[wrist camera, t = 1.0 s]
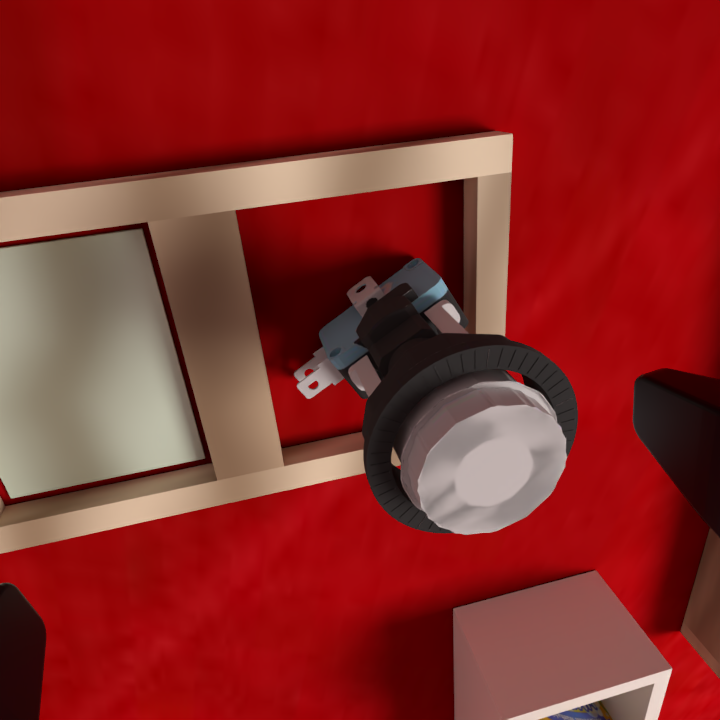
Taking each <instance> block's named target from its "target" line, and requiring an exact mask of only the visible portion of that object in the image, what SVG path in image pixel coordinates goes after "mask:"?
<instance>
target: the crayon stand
mask: <svg viewBox="0 0 720 720" xmlns="http://www.w3.org/2000/svg"><path fill="white" fill-rule="evenodd" d="M453 641H454V720H538V719H542V718H545V717H548V716H551V715H555V714H558V713H561V712H564V711H567V710H571V709H574V708H577V707H580V706H583V705H587V704H590V703H593V702H596V701H599V700H601V702H602V703H603V705H604V707H605V708H606V710H607V711H608V713H609V715H610V716H611V718H612V719H613V720H658V716H659V713H660V709H661V706H662V702H663V699H664V695H665V692H666V689H667V685H668V682H669V678H670V675H671V671H672V667H671V666H670V665H669V663H668V662H667V661H666V660H665V658H664V657H663V656H662V654H661V653H660V652H659V651H658V649H657V648H656V647H655V645H654V644H653V643H652V642H651V640H650V639H649V638H648V636H647V635H646V634H645V633H644V631H643V630H642V629H641V627H640V626H639V625H638V624H637V622H636V621H635V620H634V618H633V617H632V616H631V615H630V613H629V612H628V611H627V609H626V608H625V607H624V606H623V604H622V603H621V602H620V600H619V599H618V598H617V596H616V595H615V594H614V593H613V591H612V590H611V589H610V587H609V586H608V585H607V584H606V582H605V581H604V580H603V578H602V577H601V576H600V575H599V573H598V572H597V571H596V570H595V571H591V572H587V573H584V574H580V575H576V576H572V577H569V578H565V579H561V580H558V581H554V582H550V583H546V584H543V585H539V586H535V587H532V588H528V589H524V590H520V591H517V592H513V593H509V594H505V595H502V596H498V597H494V598H491V599H487V600H483V601H479V602H476V603H472V604H468V605H465V606H461V607H457V608H453Z"/></svg>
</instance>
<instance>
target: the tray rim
mask: <svg viewBox="0 0 720 720" xmlns="http://www.w3.org/2000/svg"><path fill="white" fill-rule="evenodd" d="M680 632H681V633H682V635H683V636H684V637H685V638H686V639H687V640H688V642H689V643H690V644H691V645H692V646H693V648H694V649H695V650H696V651H697V652H698V654H699V655H700V656H701V657H702V658H703V659H704V661H705V662H706V663H707V664H708V665H709V667H710V668H711V669H712V670H713V671H714V673H715V674H716V675H717V676H718V677H719V678H720V538H719V537H718V536H717V535H716V534H715V533H714V531H713V530H712V529H711V528H710V530H709V533H708V537H707V540H706V543H705V547H704V550H703V554H702V557H701V561H700V564H699V568H698V571H697V575H696V578H695V582H694V585H693V589H692V592H691V596H690V599H689V603H688V606H687V610H686V613H685V617H684V620H683V624H682V627H681V631H680Z"/></svg>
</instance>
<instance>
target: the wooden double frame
mask: <svg viewBox="0 0 720 720" xmlns="http://www.w3.org/2000/svg"><path fill="white" fill-rule="evenodd" d="M512 145H513V134H512V133H506V132H500V131H492V132H484V133H476V134H468V135H460V136H452V137H444V138H436V139H427V140H419V141H411V142H403V143H395V144H387V145H379V146H371V147H363V148H355V149H346V150H338V151H330V152H322V153H314V154H306V155H298V156H290V157H282V158H273V159H265V160H257V161H249V162H241V163H233V164H225V165H217V166H209V167H201V168H192V169H184V170H176V171H168V172H160V173H152V174H144V175H136V176H128V177H120V178H111V179H103V180H95V181H87V182H79V183H71V184H63V185H55V186H47V187H39V188H30V189H22V190H14V191H6V192H0V242H5V241H13V240H20V239H27V238H35V237H42V236H49V235H57V234H64V233H71V232H78V231H86V230H93V229H100V228H108V227H115V226H122V225H130V224H137V223H144V222H148V225H149V229H150V233H151V237H152V240H153V244H154V248H155V251H156V255H157V259H158V263H159V266H160V270H161V274H162V277H163V281H164V285H165V288H166V292H167V296H168V300H169V303H170V307H171V311H172V314H173V318H174V322H175V325H176V329H177V333H178V337H179V340H180V344H181V348H182V351H183V355H184V359H185V363H186V366H187V370H188V374H189V377H190V381H191V385H192V388H193V392H194V396H195V400H196V403H197V407H198V411H199V414H200V418H201V422H202V425H203V429H204V433H205V437H206V440H207V444H208V448H209V451H210V455H211V459H212V463H210V464H205V465H200V466H196V467H191V468H186V469H181V470H176V471H172V472H167V473H162V474H157V475H152V476H148V477H143V478H138V479H133V480H128V481H124V482H119V483H114V484H109V485H104V486H100V487H95V488H90V489H85V490H81V491H76V492H71V493H66V494H61V495H57V496H52V497H47V498H42V499H37V500H33V501H28V502H23V503H18V504H13V505H9V506H5V505H4V503H3V501H2V499H1V497H0V554H1V553H5V552H10V551H14V550H19V549H23V548H28V547H32V546H37V545H41V544H46V543H50V542H55V541H60V540H64V539H69V538H73V537H78V536H82V535H87V534H91V533H96V532H100V531H105V530H109V529H114V528H118V527H123V526H127V525H132V524H136V523H141V522H145V521H150V520H154V519H159V518H163V517H168V516H173V515H177V514H182V513H186V512H191V511H195V510H200V509H204V508H209V507H213V506H218V505H222V504H227V503H231V502H236V501H240V500H245V499H249V498H254V497H258V496H263V495H267V494H272V493H276V492H281V491H286V490H290V489H295V488H299V487H304V486H308V485H313V484H317V483H322V482H326V481H331V480H335V479H340V478H344V477H349V476H353V475H358V474H362V473H366V472H365V468H364V461H363V448H364V438H363V435H362V432H358V433H354V434H349V435H344V436H339V437H334V438H330V439H325V440H320V441H315V442H311V443H306V444H301V445H296V446H291V447H287V448H282V449H281V445H280V440H279V434H278V429H277V424H276V419H275V414H274V409H273V403H272V398H271V393H270V388H269V383H268V377H267V372H266V367H265V362H264V357H263V352H262V346H261V341H260V336H259V331H258V326H257V320H256V315H255V310H254V305H253V300H252V295H251V289H250V284H249V279H248V274H247V269H246V263H245V258H244V253H243V248H242V243H241V238H240V232H239V227H238V222H237V217H236V212H235V210H239V209H246V208H254V207H261V206H268V205H276V204H283V203H290V202H298V201H305V200H312V199H319V198H327V197H334V196H341V195H349V194H356V193H363V192H371V191H378V190H385V189H392V188H400V187H407V186H414V185H422V184H429V183H436V182H444V181H451V180H458V179H464V314H465V316H466V317H467V319H468V321H469V323H468V325H467V327H466V328H465V330H466V331H467V332H468V333H469V334H499V335H503V336H505V321H506V296H507V271H508V246H509V221H510V196H511V171H512ZM200 459H205V453H204V450H203V446H202V443H201V439H200V435H199V432H198V428H197V424H196V421H195V417H194V414H193V410H192V406H191V403H190V399H189V395H188V392H187V388H186V385H185V381H184V377H183V374H182V370H181V366H180V363H179V359H178V356H177V352H176V348H175V345H174V341H173V337H172V334H171V330H170V327H169V323H168V319H167V316H166V312H165V308H164V305H163V301H162V298H161V294H160V290H159V287H158V283H157V279H156V276H155V272H154V269H153V265H152V261H151V258H150V254H149V250H148V247H147V243H146V240H145V236H144V232H143V229H142V228H139V229H131V230H124V231H117V232H110V233H103V234H95V235H88V236H81V237H74V238H66V239H59V240H52V241H45V242H38V243H30V244H23V245H16V246H9V247H1V248H0V478H1V480H2V482H3V484H4V486H5V488H6V490H7V492H8V493H9V495H10V497H11V499H12V498H17V497H22V496H26V495H31V494H36V493H41V492H46V491H51V490H55V489H60V488H65V487H70V486H75V485H80V484H84V483H89V482H94V481H99V480H104V479H109V478H113V477H118V476H123V475H128V474H133V473H137V472H142V471H147V470H152V469H157V468H162V467H166V466H171V465H176V464H181V463H186V462H191V461H195V460H200ZM391 463H392V464H393V465H394V466H398V465H401V462H400V460H399V458H398V456H397V454H396V452H395V450H394V448H393V449H392V455H391Z"/></svg>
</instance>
